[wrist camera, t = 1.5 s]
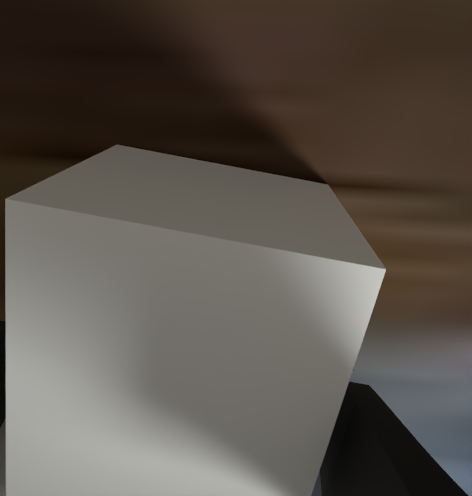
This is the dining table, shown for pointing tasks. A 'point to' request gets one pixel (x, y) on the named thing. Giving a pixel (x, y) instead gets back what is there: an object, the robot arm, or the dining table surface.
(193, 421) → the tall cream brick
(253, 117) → the dining table surface
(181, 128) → the dining table surface
